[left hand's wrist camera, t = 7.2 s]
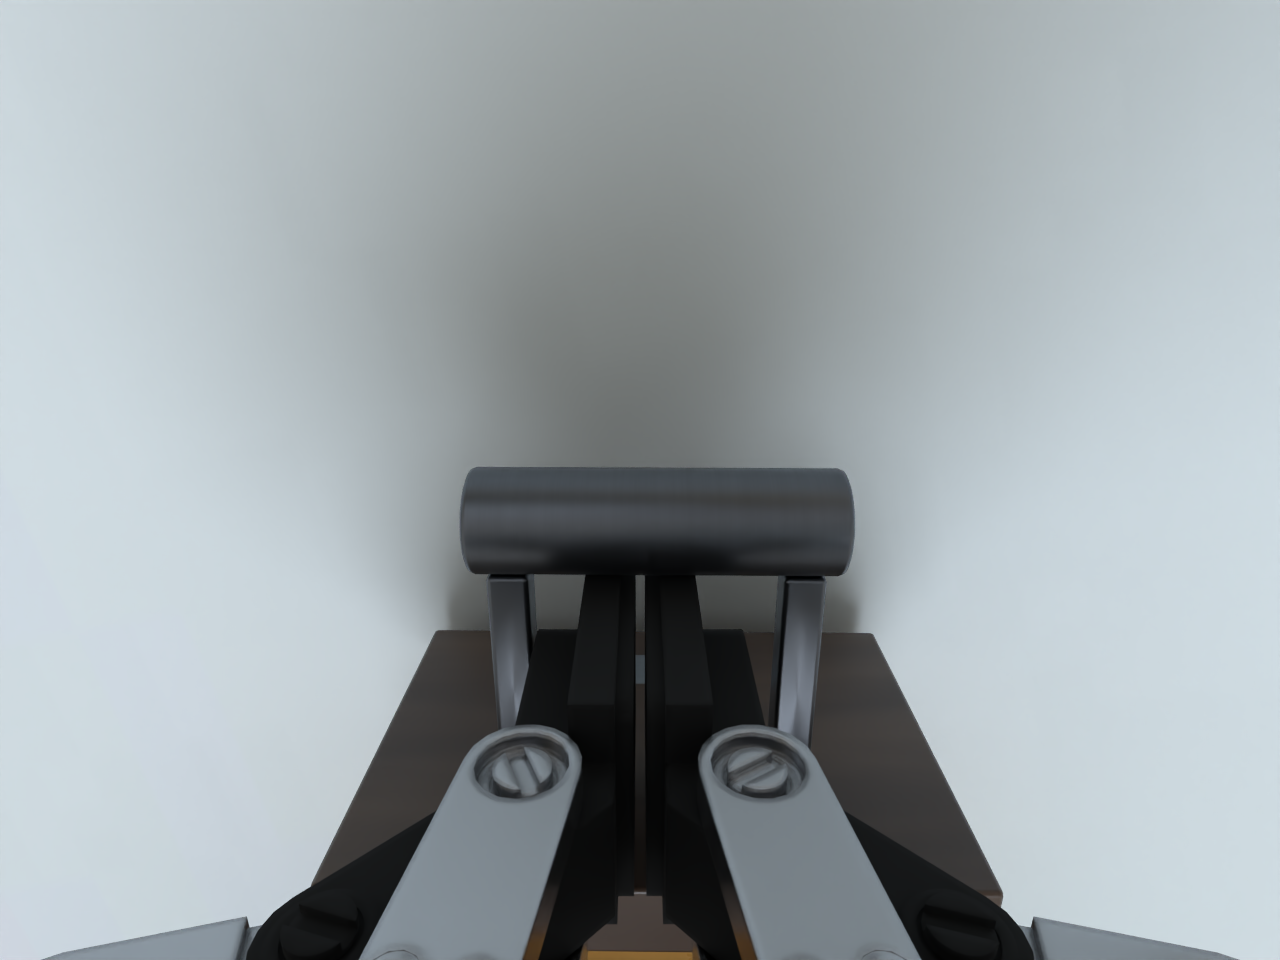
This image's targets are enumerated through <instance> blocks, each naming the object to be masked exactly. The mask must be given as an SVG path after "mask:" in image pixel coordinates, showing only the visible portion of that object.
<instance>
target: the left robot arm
mask: <svg viewBox="0 0 1280 960" xmlns="http://www.w3.org/2000/svg"><path fill="white" fill-rule="evenodd" d="M635 745H636V575H585V582H584V589H583V596H582V603H581V610H580V617H579V624H578V629H539V630H538V631H537V634H536V637H535V642H534V646H533V650H532V655H531V659H530V663H529V668H528V672H527V676H526V680H525V685H524V689H523V693H522V698H521V702H520V706H519V711H518V715H517V719H516V724H515V726H513V727H508V728H503V729H501V730H498V731H496V732H494V733H492V734H489V735H487V736H486V737H484V738H483V739H482V740H480V741H479V742H478V743H476V744H475V745H474V746H473V747H472V748H471V750H470V751H469V752H468V754H467V755H466V756H465V758H464V759H463V761H462V763H461V765H460V767H459V769H458V771H457V773H456V775H455V777H454V779H453V780H452V782H451V784H450V786H449V788H448V790H447V792H446V794H445V796H444V798H443V800H442V802H441V803H440V805H439V807H438V809H437V810H436V811H435V812H433V813H431V814H430V815H428V816H426V817H425V818H423V819H422V820H420V821H418V822H417V823H415V824H413V825H412V826H410V827H408V828H407V829H405V830H403V831H402V832H400V833H398V834H397V835H395V836H394V837H392V838H390V839H389V840H387V841H385V842H384V843H382V844H380V845H379V846H377V847H375V848H374V849H372V850H371V851H369V852H367V853H366V854H364V855H362V856H361V857H359V858H357V859H356V860H354V861H352V862H351V863H349V864H347V865H346V866H344V867H343V868H341V869H339V870H338V871H336V872H334V873H333V874H331V875H329V876H328V877H326V878H324V879H323V880H321V881H320V882H318V883H316V884H315V885H313V886H311V887H310V888H308V889H306V890H305V891H303V892H301V893H300V894H298V895H296V896H295V897H293V898H292V899H291V900H289V901H288V902H287V903H285V904H284V905H283V906H281V907H280V908H279V909H277V910H276V911H275V912H274V913H273V914H272V915H271V916H270V917H269V918H268V919H267V921H266V922H265V923H264V924H263V925H261V926H256V927H251V928H249V924H248V920H247V917H242V918H237V919H232V920H226V921H221V922H216V923H211V924H206V925H201V926H196V927H191V928H186V929H181V930H175V931H170V932H165V933H160V934H155V935H150V936H145V937H140V938H135V939H130V940H125V941H119V942H114V943H109V944H104V945H99V946H94V947H89V948H84V949H79V950H74V951H68V952H63V953H60V954H57V955H54V956H51V957H48V958H45V959H42V960H588V939H589V938H591V937H592V936H593V935H594V934H595V933H596V932H598V931H599V930H600V929H601V928H602V927H603V926H605V925H606V924H617V920H618V896H634V851H635ZM645 803H646V896H662V907H663V924H675V925H676V926H677V927H678V928H680V929H681V930H682V931H683V932H684V933H685V934H687V935H688V936H689V937H690V938H691V939H692V960H1238V959H1235V958H1232V957H1229V956H1226V955H1223V954H1220V953H1217V952H1212V951H1206V950H1201V949H1196V948H1191V947H1186V946H1181V945H1176V944H1171V943H1166V942H1161V941H1156V940H1150V939H1145V938H1140V937H1135V936H1130V935H1125V934H1120V933H1115V932H1110V931H1105V930H1100V929H1095V928H1089V927H1084V926H1079V925H1074V924H1069V923H1064V922H1059V921H1054V920H1049V919H1044V918H1039V917H1033V921H1032V925H1031V928H1029V927H1024V926H1019V925H1017V924H1016V922H1015V921H1014V920H1013V919H1012V918H1011V917H1010V916H1009V914H1008V913H1007V912H1006V911H1004V910H1003V909H1002V908H1000V907H999V906H998V905H996V904H995V903H994V902H992V901H991V900H990V899H988V898H987V897H986V896H984V895H982V894H981V893H979V892H977V891H976V890H974V889H972V888H971V887H969V886H967V885H966V884H964V883H963V882H961V881H959V880H958V879H956V878H954V877H953V876H951V875H949V874H948V873H946V872H944V871H943V870H941V869H940V868H938V867H936V866H935V865H933V864H931V863H930V862H928V861H926V860H925V859H923V858H921V857H920V856H918V855H917V854H915V853H913V852H912V851H910V850H908V849H907V848H905V847H903V846H902V845H900V844H898V843H897V842H895V841H894V840H892V839H890V838H889V837H887V836H885V835H884V834H882V833H880V832H879V831H877V830H875V829H874V828H872V827H870V826H869V825H867V824H866V823H864V822H862V821H861V820H859V819H857V818H856V817H854V816H852V815H851V814H849V813H847V812H846V811H844V810H843V809H842V807H841V805H840V803H839V802H838V800H837V798H836V796H835V794H834V792H833V790H832V788H831V786H830V784H829V782H828V780H827V779H826V777H825V775H824V773H823V771H822V769H821V767H820V765H819V763H818V761H817V759H816V758H815V756H814V755H813V754H812V752H811V751H810V750H809V748H808V747H807V746H806V745H805V744H804V743H802V742H801V741H800V740H798V739H797V738H796V737H794V736H793V735H791V734H788V733H786V732H784V731H782V730H779V729H777V728H772V727H767V726H765V722H764V717H763V713H762V709H761V704H760V700H759V696H758V691H757V687H756V683H755V678H754V674H753V670H752V665H751V661H750V657H749V652H748V648H747V644H746V640H745V635H744V632H743V630H741V629H703V628H702V621H701V614H700V606H699V599H698V592H697V585H696V578H695V575H645Z"/></svg>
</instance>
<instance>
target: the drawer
mask: <svg viewBox="0 0 1280 960" xmlns="http://www.w3.org/2000/svg"><path fill="white" fill-rule="evenodd" d="M854 537H855V511H854V501H853V495H852V490H851V486H850V483H849V480H848V478H847V475H846V474H845V472H844V471H842V470H840V469H836V468H595V467H476V468H473V469H471V470H470V471H469V473H468V475H467V478H466V480H465V483H464V487H463V492H462V498H461V506H460V541H461V549H462V554H463V558H464V561H465V565H466V567H467V569H468V570H469V571H470V572H472V573H474V574H489V575H488V577H487V580H486V581H487V594H488V607H489V620H490V631H477V630H438V631H436V632H435V634H434V636H433V638H432V640H431V642H430V644H429V646H428V648H427V650H426V652H425V654H424V656H423V658H422V660H421V662H420V664H419V666H418V668H417V671H416V673H415V675H414V677H413V679H412V681H411V683H410V685H409V687H408V689H407V691H406V693H405V695H404V697H403V699H402V701H401V703H400V705H399V707H398V709H397V711H396V713H395V715H394V717H393V719H392V721H391V723H390V725H389V727H388V729H387V731H386V733H385V735H384V738H383V740H382V742H381V744H380V746H379V748H378V750H377V752H376V754H375V756H374V758H373V760H372V762H371V764H370V766H369V768H368V770H367V772H366V774H365V776H364V778H363V780H362V782H361V784H360V786H359V788H358V790H357V792H356V794H355V796H354V798H353V800H352V803H351V805H350V807H349V809H348V811H347V813H346V815H345V817H344V819H343V821H342V823H341V825H340V827H339V829H338V831H337V833H336V835H335V837H334V839H333V841H332V843H331V845H330V847H329V849H328V851H327V853H326V855H325V857H324V859H323V861H322V863H321V865H320V867H319V870H318V872H317V874H316V876H315V878H314V880H313V882H312V884H311V886H313V885H315V884H316V883H318V882H320V881H321V880H323V879H324V878H326V877H328V876H329V875H331V874H333V873H334V872H336V871H338V870H339V869H341V868H343V867H344V866H346V865H347V864H349V863H351V862H352V861H354V860H356V859H357V858H359V857H361V856H362V855H364V854H366V853H367V852H369V851H371V850H372V849H374V848H375V847H377V846H379V845H380V844H382V843H384V842H385V841H387V840H389V839H390V838H392V837H394V836H395V835H397V834H398V833H400V832H402V831H403V830H405V829H407V828H408V827H410V826H412V825H413V824H415V823H417V822H418V821H420V820H422V819H423V818H425V817H426V816H428V815H430V814H431V813H433V812H435V811H436V810H437V809H438V807H439V805H440V803H441V802H442V800H443V798H444V796H445V794H446V792H447V790H448V788H449V786H450V784H451V782H452V780H453V779H454V777H455V775H456V773H457V771H458V769H459V767H460V765H461V763H462V761H463V759H464V758H465V756H466V755H467V754H468V752H469V751H470V750H471V748H472V747H473V746H474V745H475V744H476V743H478V742H479V741H480V740H482V739H483V738H484V737H486V736H487V735H489V734H492V733H494V732H496V731H498V730H501V729H503V728H508V727H513V726H515V724H516V719H517V715H518V711H519V706H520V702H521V698H522V693H523V689H524V685H525V680H526V676H527V672H528V668H529V663H530V659H531V655H532V650H533V646H534V642H535V637H536V634H537V626H536V607H535V589H534V574H564V575H736V576H778V587H777V601H776V615H775V630H774V633H772V632H744V635H745V640H746V644H747V648H748V652H749V657H750V661H751V665H752V670H753V674H754V678H755V683H756V687H757V691H758V696H759V700H760V704H761V709H762V713H763V717H764V722H765V726H767V727H772V728H777V729H779V730H782V731H784V732H786V733H788V734H791V735H793V736H794V737H796V738H797V739H798V740H800V741H801V742H802V743H804V744H805V745H806V746H807V747H808V748H809V750H810V751H811V752H812V754H813V755H814V756H815V758H816V759H817V761H818V763H819V765H820V767H821V769H822V771H823V773H824V775H825V777H826V779H827V780H828V782H829V784H830V786H831V788H832V790H833V792H834V794H835V796H836V798H837V800H838V802H839V803H840V805H841V807H842V809H843V810H844V811H846V812H847V813H849V814H851V815H852V816H854V817H856V818H857V819H859V820H861V821H862V822H864V823H866V824H867V825H869V826H870V827H872V828H874V829H875V830H877V831H879V832H880V833H882V834H884V835H885V836H887V837H889V838H890V839H892V840H894V841H895V842H897V843H898V844H900V845H902V846H903V847H905V848H907V849H908V850H910V851H912V852H913V853H915V854H917V855H918V856H920V857H921V858H923V859H925V860H926V861H928V862H930V863H931V864H933V865H935V866H936V867H938V868H940V869H941V870H943V871H944V872H946V873H948V874H949V875H951V876H953V877H954V878H956V879H958V880H959V881H961V882H963V883H964V884H966V885H967V886H969V887H971V888H972V889H974V890H976V891H977V892H979V893H981V894H982V895H984V896H986V897H987V898H988V899H990V900H991V901H992V902H994V903H995V904H996V905H998V906H999V907H1000V908H1001V904H1002V900H1003V892H1002V890H1001V888H1000V886H999V884H998V882H997V880H996V878H995V876H994V874H993V872H992V870H991V868H990V866H989V864H988V862H987V860H986V858H985V856H984V854H983V852H982V850H981V848H980V846H979V844H978V842H977V840H976V838H975V836H974V834H973V832H972V830H971V828H970V826H969V824H968V822H967V820H966V818H965V816H964V814H963V812H962V810H961V808H960V806H959V804H958V802H957V800H956V798H955V796H954V794H953V792H952V790H951V788H950V786H949V784H948V782H947V780H946V778H945V776H944V774H943V772H942V770H941V769H940V767H939V765H938V763H937V761H936V759H935V757H934V755H933V753H932V751H931V749H930V747H929V745H928V743H927V741H926V739H925V737H924V735H923V733H922V731H921V729H920V727H919V725H918V723H917V721H916V719H915V717H914V715H913V713H912V711H911V709H910V707H909V705H908V703H907V701H906V699H905V697H904V695H903V693H902V691H901V689H900V687H899V685H898V683H897V681H896V679H895V677H894V675H893V673H892V671H891V669H890V667H889V665H888V663H887V661H886V659H885V657H884V655H883V653H882V651H881V649H880V647H879V645H878V643H877V641H876V639H875V637H874V635H873V634H871V633H822V625H823V614H824V604H825V593H826V580H825V577H824V576H839V575H842V574H844V573H845V572H846V571H847V569H848V567H849V564H850V560H851V557H852V553H853V546H854ZM588 960H692V939H691V938H690V937H689V936H688V935H687V934H685V933H684V932H683V931H682V930H681V929H680V928H678V927H677V926H676V925H675V924H663V907H662V896H646V803H645V632H636V745H635V851H634V896H618V920H617V924H606V925H605V926H603V927H602V928H601V929H600V930H599V931H598V932H596V933H595V934H594V935H593V936H592V937H591V938H589V939H588Z"/></svg>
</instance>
